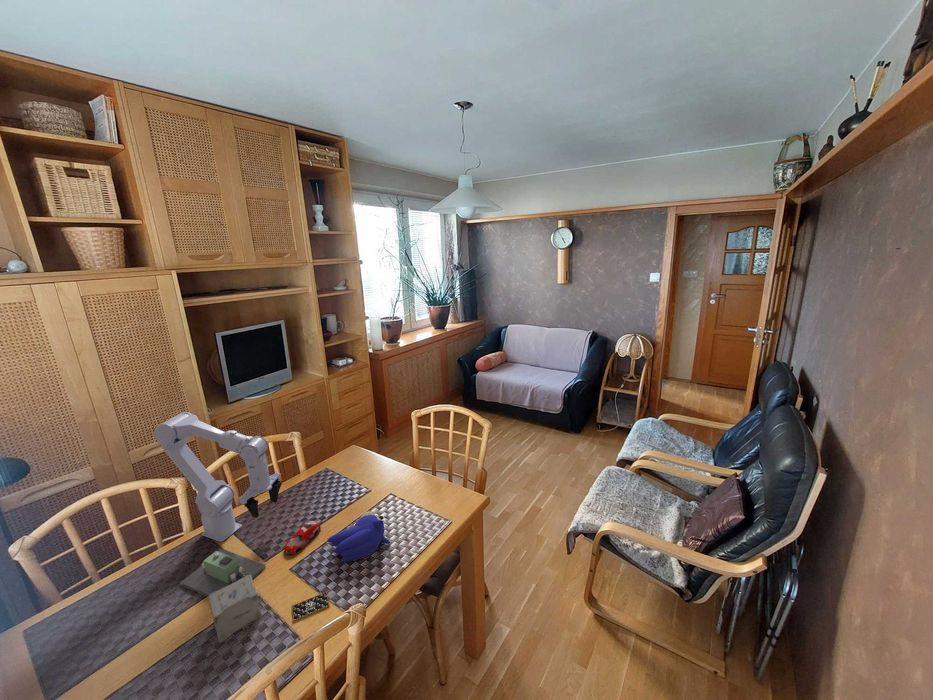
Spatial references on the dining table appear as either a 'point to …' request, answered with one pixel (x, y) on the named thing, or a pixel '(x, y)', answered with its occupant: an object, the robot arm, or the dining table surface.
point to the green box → (221, 566)
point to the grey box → (234, 607)
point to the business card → (310, 606)
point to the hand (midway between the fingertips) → (265, 508)
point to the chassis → (210, 584)
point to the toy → (360, 538)
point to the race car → (302, 537)
